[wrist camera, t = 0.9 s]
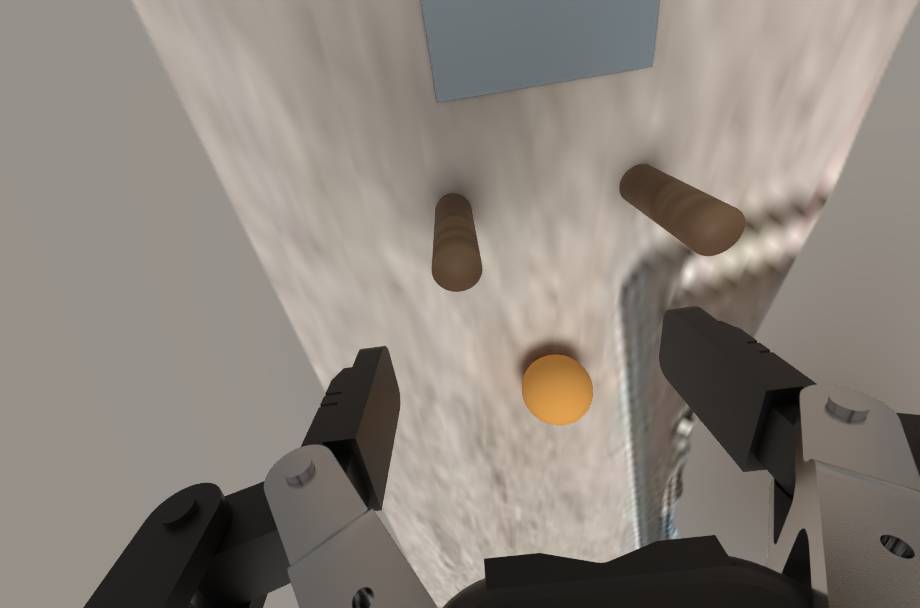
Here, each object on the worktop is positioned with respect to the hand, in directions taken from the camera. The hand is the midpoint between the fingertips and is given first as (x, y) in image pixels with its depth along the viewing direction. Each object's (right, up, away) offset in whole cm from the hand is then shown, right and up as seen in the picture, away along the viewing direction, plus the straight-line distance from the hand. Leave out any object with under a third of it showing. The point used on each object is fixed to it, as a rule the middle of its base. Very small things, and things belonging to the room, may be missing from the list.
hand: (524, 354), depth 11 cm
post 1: (-2, +8, +16) cm, 18 cm away
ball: (+7, -6, +22) cm, 23 cm away
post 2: (+11, +10, +15) cm, 21 cm away
